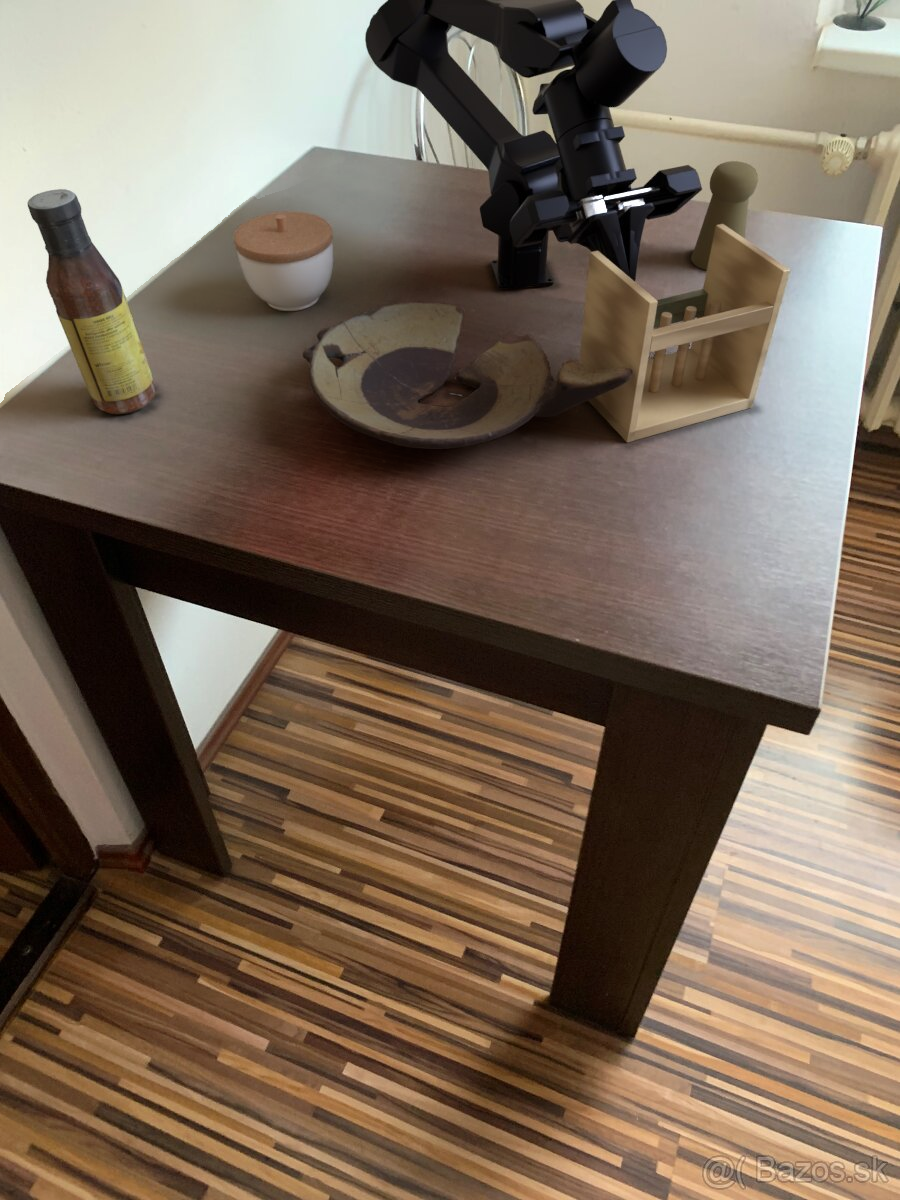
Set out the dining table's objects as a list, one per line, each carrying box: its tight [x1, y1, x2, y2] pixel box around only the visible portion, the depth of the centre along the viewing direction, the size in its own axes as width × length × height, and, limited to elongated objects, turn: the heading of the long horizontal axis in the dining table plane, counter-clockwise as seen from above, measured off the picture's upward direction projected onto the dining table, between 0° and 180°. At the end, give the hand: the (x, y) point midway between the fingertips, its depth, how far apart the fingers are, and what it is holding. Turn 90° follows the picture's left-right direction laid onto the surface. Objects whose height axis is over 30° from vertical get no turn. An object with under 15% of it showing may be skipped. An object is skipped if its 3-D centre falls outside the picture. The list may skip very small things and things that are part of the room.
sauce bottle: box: [27, 188, 156, 415], centre depth 81 cm, size 7×6×20 cm
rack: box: [578, 224, 791, 443], centre depth 82 cm, size 10×14×14 cm
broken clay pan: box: [302, 301, 632, 450], centre depth 83 cm, size 22×30×8 cm
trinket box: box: [233, 211, 334, 312], centre depth 98 cm, size 11×11×9 cm
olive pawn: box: [691, 160, 759, 271], centre depth 103 cm, size 6×6×11 cm
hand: (628, 290), depth 87 cm, fingers closed
